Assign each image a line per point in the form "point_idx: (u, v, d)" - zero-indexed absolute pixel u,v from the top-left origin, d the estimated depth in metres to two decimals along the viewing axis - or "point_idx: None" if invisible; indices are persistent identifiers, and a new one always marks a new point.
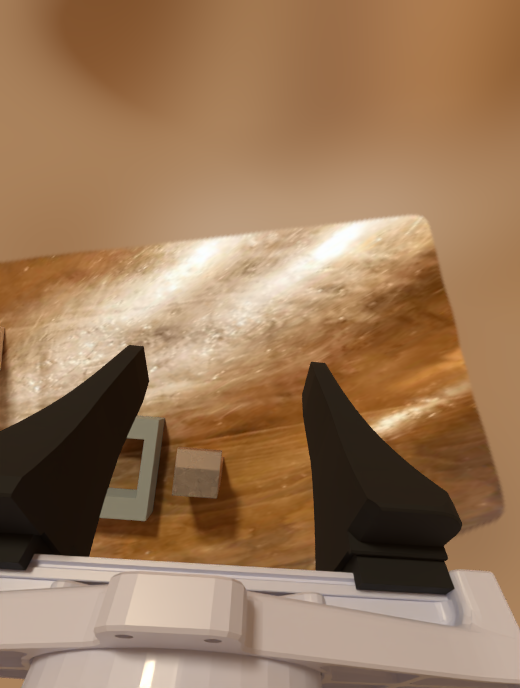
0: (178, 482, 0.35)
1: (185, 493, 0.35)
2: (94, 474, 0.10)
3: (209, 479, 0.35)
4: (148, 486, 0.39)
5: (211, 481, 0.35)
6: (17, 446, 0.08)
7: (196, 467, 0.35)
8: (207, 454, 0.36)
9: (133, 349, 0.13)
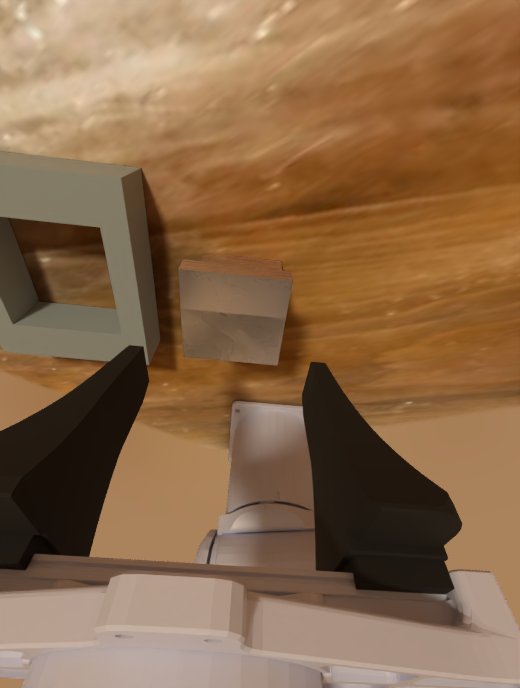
0: (194, 337, 0.16)
1: (211, 355, 0.17)
2: (94, 474, 0.10)
3: (262, 334, 0.16)
4: (138, 318, 0.20)
5: (266, 337, 0.16)
6: (18, 445, 0.08)
7: (231, 311, 0.15)
8: (255, 284, 0.14)
9: (133, 349, 0.13)
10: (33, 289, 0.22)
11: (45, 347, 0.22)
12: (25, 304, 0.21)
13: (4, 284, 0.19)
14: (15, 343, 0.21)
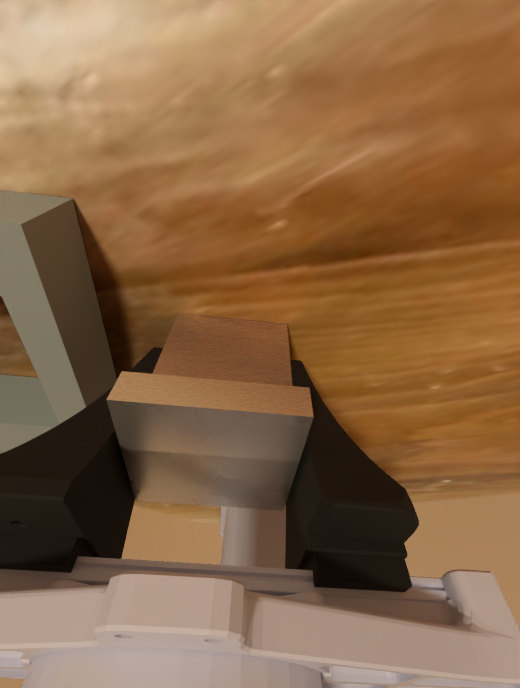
0: (148, 481, 0.10)
1: (179, 499, 0.10)
2: (127, 476, 0.10)
3: (259, 478, 0.10)
4: (82, 409, 0.14)
5: (266, 482, 0.10)
6: (60, 449, 0.08)
7: (207, 453, 0.09)
8: (247, 421, 0.08)
9: (158, 351, 0.13)
10: None
11: None
12: None
13: None
14: None
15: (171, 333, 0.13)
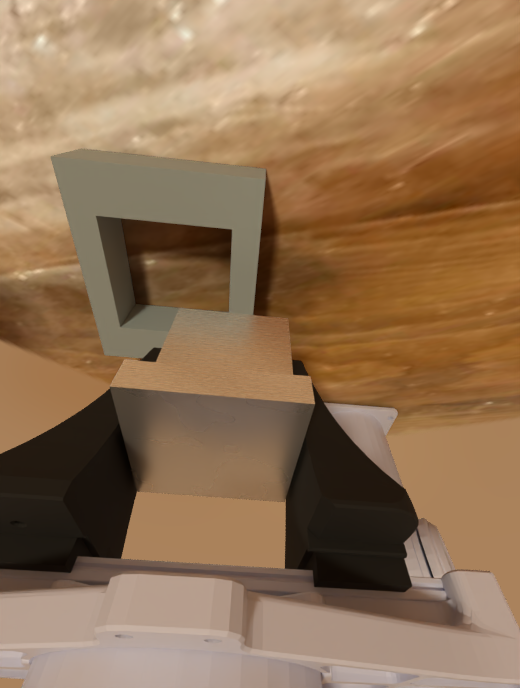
0: (150, 471, 0.10)
1: (181, 490, 0.10)
2: (127, 476, 0.10)
3: (260, 468, 0.10)
4: None
5: (267, 472, 0.10)
6: (61, 449, 0.08)
7: (209, 442, 0.09)
8: (249, 408, 0.08)
9: (158, 351, 0.13)
10: (131, 292, 0.22)
11: (147, 350, 0.21)
12: (127, 307, 0.21)
13: (117, 287, 0.19)
14: (118, 345, 0.21)
15: (172, 327, 0.13)
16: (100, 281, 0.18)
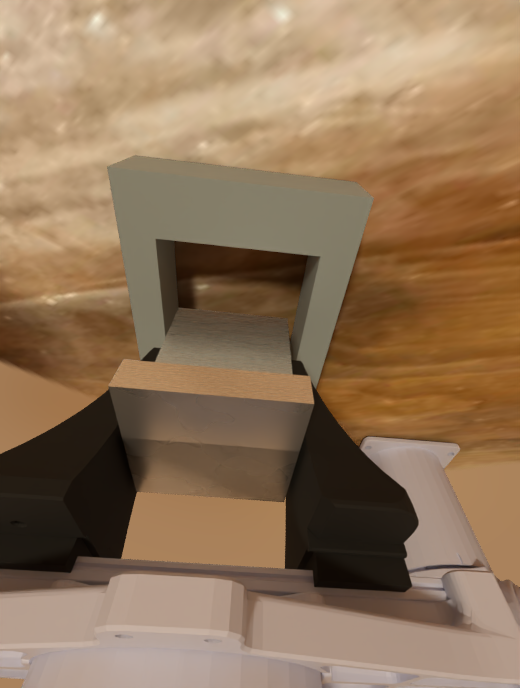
0: (149, 471, 0.10)
1: (180, 490, 0.10)
2: (127, 476, 0.10)
3: (259, 468, 0.10)
4: (321, 357, 0.17)
5: (267, 472, 0.10)
6: (60, 449, 0.08)
7: (208, 442, 0.09)
8: (248, 408, 0.08)
9: (158, 351, 0.13)
10: None
11: None
12: None
13: (167, 318, 0.16)
14: None
15: (172, 326, 0.13)
16: (151, 313, 0.15)
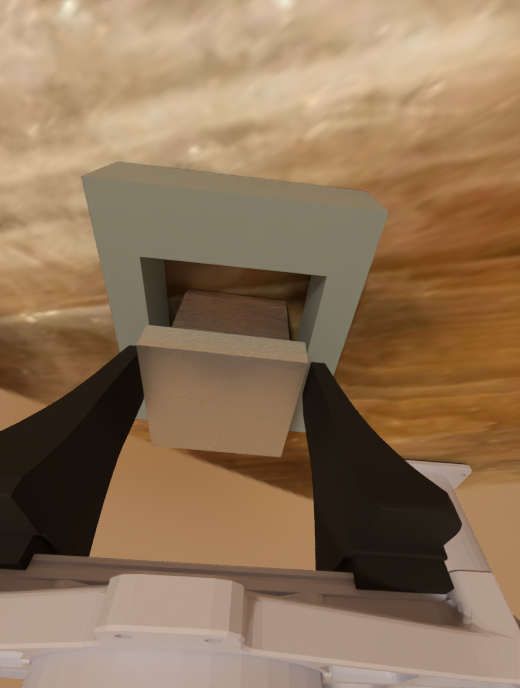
0: (164, 425, 0.11)
1: (190, 445, 0.12)
2: (94, 474, 0.10)
3: (260, 423, 0.11)
4: None
5: (266, 428, 0.11)
6: (17, 446, 0.08)
7: (217, 398, 0.10)
8: (253, 366, 0.09)
9: (133, 349, 0.13)
10: None
11: None
12: None
13: None
14: None
15: (182, 305, 0.14)
16: (137, 337, 0.14)
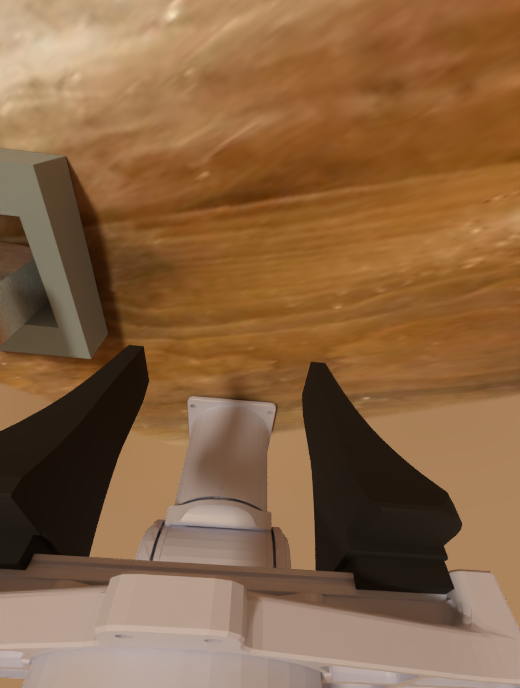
0: None
1: None
2: (94, 474, 0.10)
3: None
4: (73, 310, 0.20)
5: None
6: (18, 445, 0.08)
7: None
8: None
9: (133, 349, 0.13)
10: None
11: None
12: None
13: None
14: None
15: None
16: None
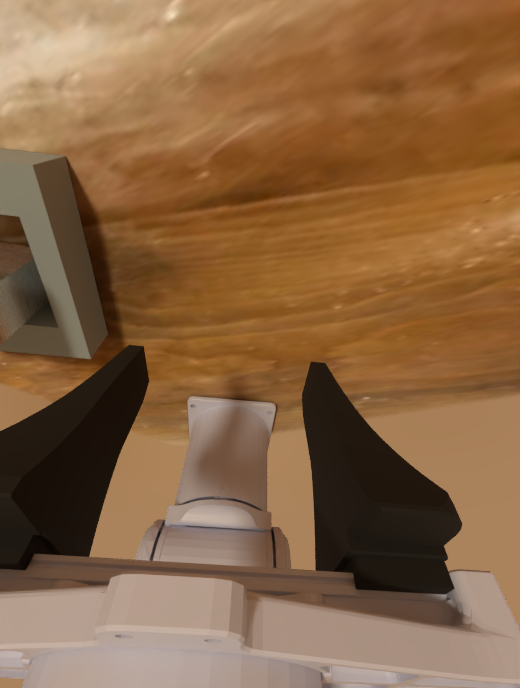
0: None
1: None
2: (94, 474, 0.10)
3: None
4: (73, 310, 0.20)
5: None
6: (18, 445, 0.08)
7: None
8: None
9: (132, 349, 0.13)
10: None
11: None
12: None
13: None
14: None
15: None
16: None
